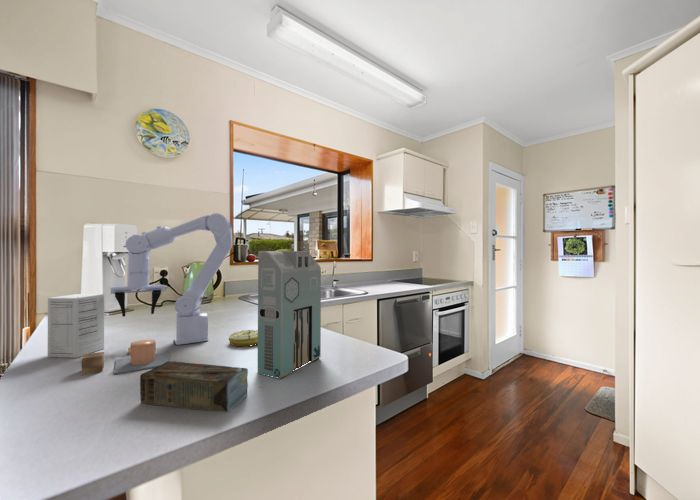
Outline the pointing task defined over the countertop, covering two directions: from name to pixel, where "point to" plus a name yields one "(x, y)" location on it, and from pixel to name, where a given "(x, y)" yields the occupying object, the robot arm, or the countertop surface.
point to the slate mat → (125, 366)
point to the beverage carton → (194, 386)
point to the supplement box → (75, 325)
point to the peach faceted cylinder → (142, 352)
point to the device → (288, 311)
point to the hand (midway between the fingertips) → (138, 314)
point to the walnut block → (92, 363)
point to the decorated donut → (244, 338)
